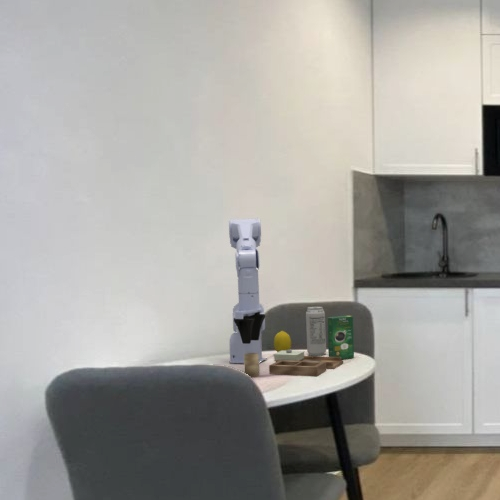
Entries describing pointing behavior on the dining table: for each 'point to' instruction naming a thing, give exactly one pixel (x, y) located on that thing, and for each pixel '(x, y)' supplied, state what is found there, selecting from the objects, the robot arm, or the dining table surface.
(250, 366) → the oak peg
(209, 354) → the dining table surface
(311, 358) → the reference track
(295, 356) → the lid
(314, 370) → the socket board
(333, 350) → the coffee box
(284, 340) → the lemon
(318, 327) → the energy drink can
